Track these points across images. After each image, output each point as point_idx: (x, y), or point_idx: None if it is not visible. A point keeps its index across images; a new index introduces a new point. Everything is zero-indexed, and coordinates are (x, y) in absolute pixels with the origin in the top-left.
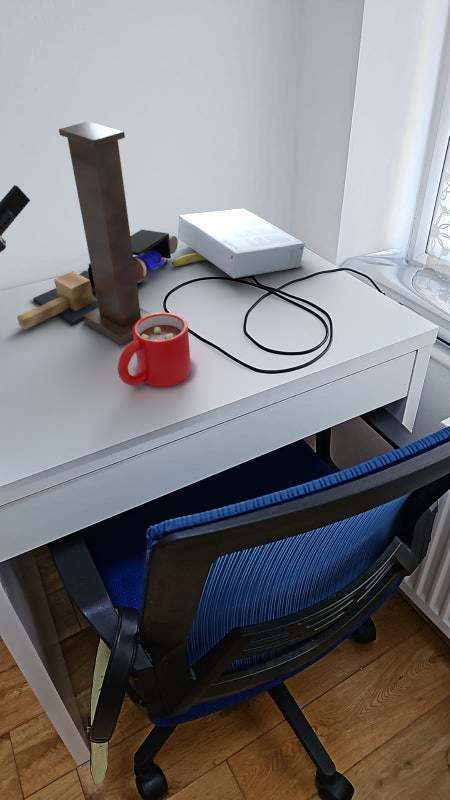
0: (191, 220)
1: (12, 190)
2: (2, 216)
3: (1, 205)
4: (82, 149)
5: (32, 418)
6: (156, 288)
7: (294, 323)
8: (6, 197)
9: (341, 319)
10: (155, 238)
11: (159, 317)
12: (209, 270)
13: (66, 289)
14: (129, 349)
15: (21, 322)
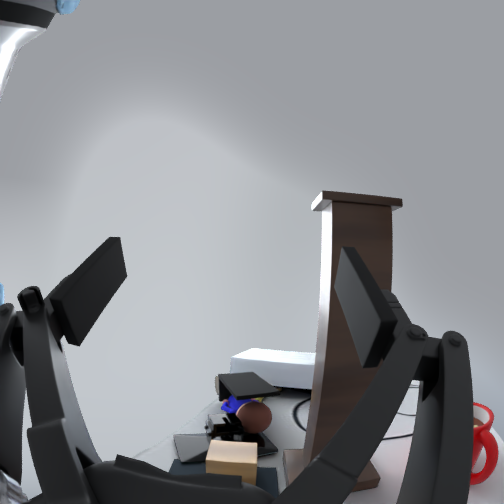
0: (249, 358)
1: (353, 253)
2: (393, 303)
3: (373, 279)
4: (365, 216)
5: None
6: (280, 428)
7: (410, 395)
8: (360, 264)
9: (416, 382)
10: (254, 377)
11: None
12: (289, 397)
13: (241, 467)
14: (494, 438)
15: None
